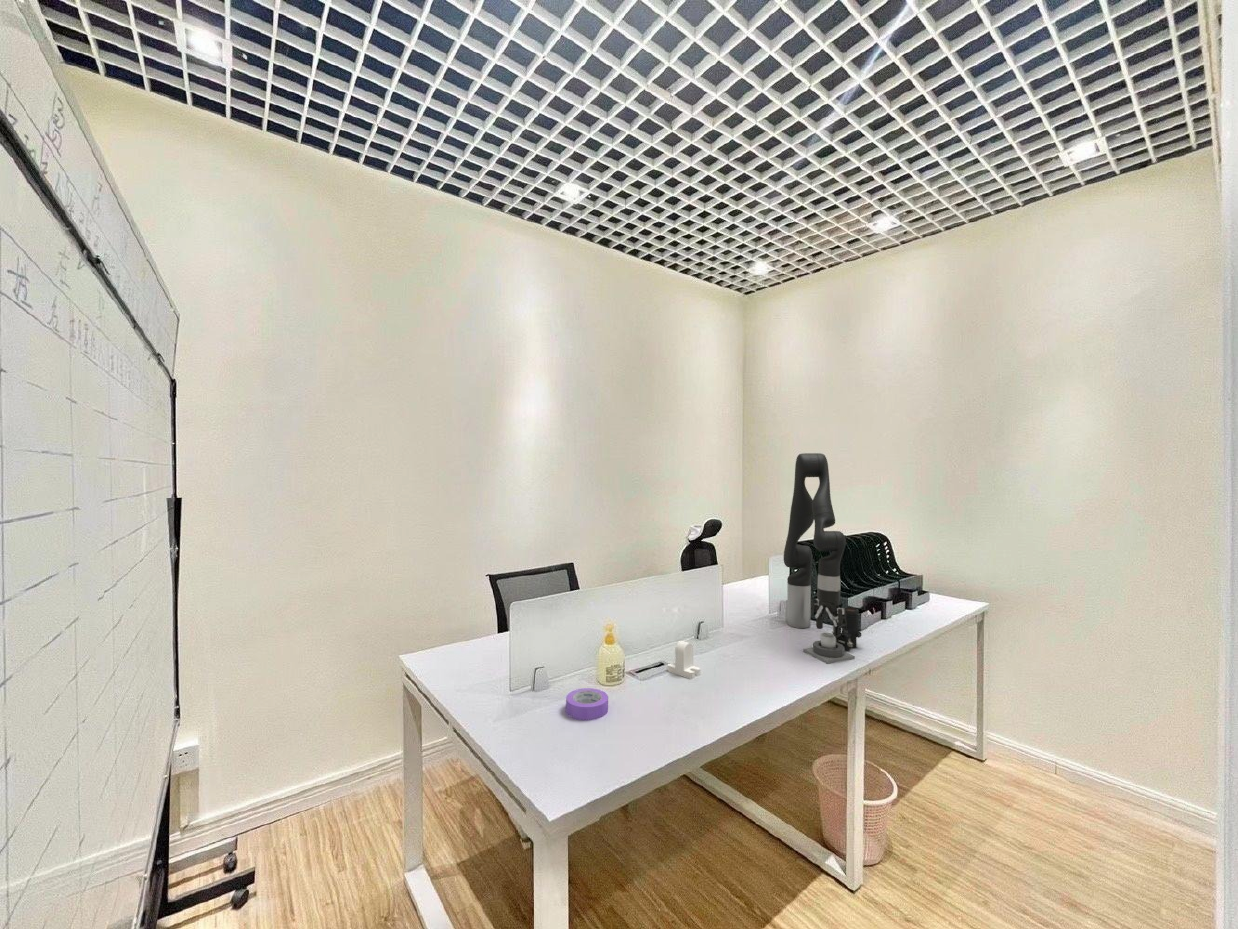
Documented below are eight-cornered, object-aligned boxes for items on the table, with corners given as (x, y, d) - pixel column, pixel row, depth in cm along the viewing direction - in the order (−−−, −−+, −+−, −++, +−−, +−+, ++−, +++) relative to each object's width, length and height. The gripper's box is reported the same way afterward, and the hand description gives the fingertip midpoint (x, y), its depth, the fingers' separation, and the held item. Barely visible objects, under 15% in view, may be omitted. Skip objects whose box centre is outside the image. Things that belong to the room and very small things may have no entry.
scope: (830, 609, 194) (845, 604, 200) (830, 646, 194) (845, 640, 200) (851, 614, 187) (866, 609, 193) (851, 653, 187) (866, 647, 193)
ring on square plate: (803, 651, 188) (803, 641, 188) (829, 647, 193) (829, 637, 193) (827, 663, 177) (827, 653, 177) (854, 659, 182) (854, 649, 182)
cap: (818, 650, 186) (817, 633, 186) (828, 648, 188) (828, 631, 188) (828, 655, 182) (828, 637, 182) (838, 653, 184) (838, 635, 184)
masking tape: (597, 697, 153) (597, 684, 152) (615, 715, 142) (615, 701, 142) (559, 706, 147) (559, 692, 147) (575, 725, 137) (575, 710, 137)
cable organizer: (691, 679, 165) (691, 648, 165) (666, 670, 171) (666, 640, 171) (701, 674, 169) (701, 643, 168) (676, 666, 175) (676, 636, 175)
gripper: (806, 583, 190) (805, 627, 191) (835, 593, 177) (834, 640, 177) (822, 581, 193) (822, 625, 193) (852, 591, 179) (852, 638, 180)
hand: (828, 632), depth 185 cm, fingers open, 8 cm apart
